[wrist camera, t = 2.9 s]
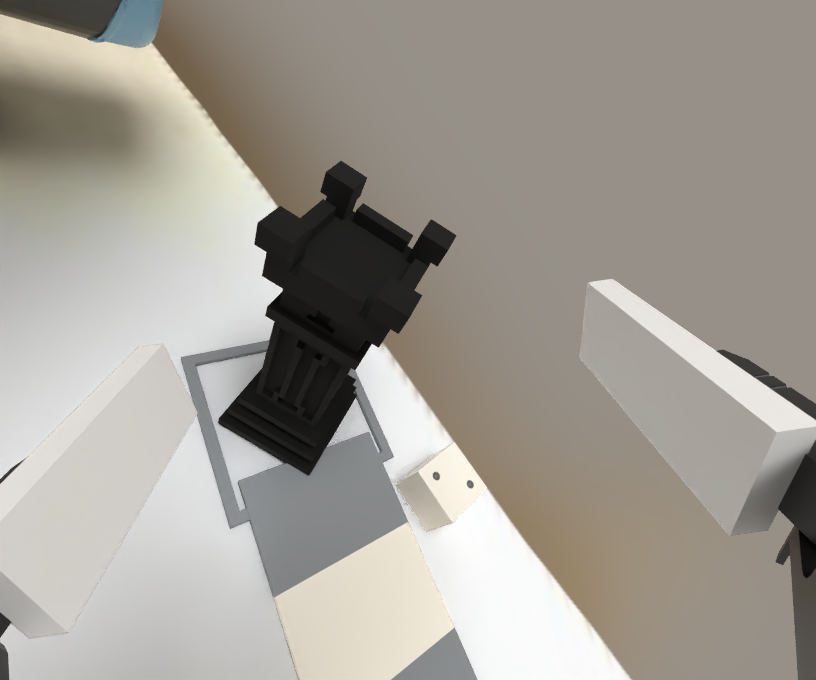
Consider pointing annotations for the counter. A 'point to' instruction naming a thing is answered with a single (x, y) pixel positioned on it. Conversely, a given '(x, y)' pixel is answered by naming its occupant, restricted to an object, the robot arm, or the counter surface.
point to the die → (441, 488)
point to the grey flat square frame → (211, 438)
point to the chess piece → (327, 314)
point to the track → (350, 572)
